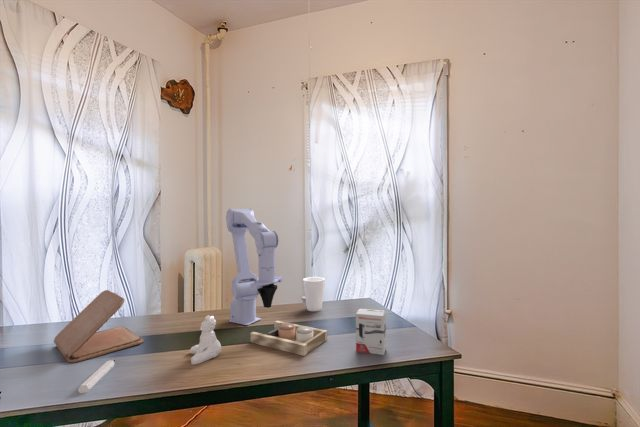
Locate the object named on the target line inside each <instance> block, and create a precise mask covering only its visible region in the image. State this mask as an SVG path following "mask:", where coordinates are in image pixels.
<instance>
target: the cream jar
mask: <svg viewBox="0 0 640 427" xmlns="http://www.w3.org/2000/svg"><path fill="white" fill-rule="evenodd" d="M302 326H303V327H299V328H297V330H296V335H295V341H297V342H301V343H305V342H306V341H308V340H310V339H311V338H313V329H312V328H313V327H312V328H311V326H308V325H307V326H306V325H302Z"/></svg>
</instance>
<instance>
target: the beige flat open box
mask: <svg viewBox="0 0 640 427" xmlns="http://www.w3.org/2000/svg"><path fill="white" fill-rule="evenodd" d="M283 323H288V322H286V321H282V320H276V321H274V323H273V324H274V327H273V328H274V329H276V328H278V327H279V325H281V324H283ZM293 324H294V326H295V336H296V330H297V328H299V327H303V326H304V325H302V324H296V323H293ZM310 327H311V326H310ZM311 328H312V329H313V338H311V339H310V340H308V341H306V342H305V343H301V342H297V341H296V340H295V341H292V340H288V339H283V338H279V337H275V336H270V335H267V334H266V333H260V332H256V331H251V332H250V344H251V343H252V344H255V345H256V344H257V345H260V346H262V347H263V346H264V347H268V348H271V349H276V350H278V351H279V350H280V351H283V352H287V353H291V354H296V355H300V356H306V355H308V354H309V353H310V352H312V351H313V350H314V349H316V348H317V347H319V346H320V345H322V344H323V343H324V342H326V341H328V333H329V332H328V330H326V329H321V328H315V327H311Z"/></svg>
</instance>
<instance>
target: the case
mask: <svg viewBox="0 0 640 427" xmlns="http://www.w3.org/2000/svg"><path fill="white" fill-rule="evenodd" d="M124 303H125V298H124V297H122V296H121V295H119V294H118V293H116V292H112V291H110V290H108V289H106V290H103V291H101V292H100V293H99V294H98V295H96V297H95V298H94V299H92V300H91V302H89V303H88V305H87V306H85V308H84V309H82V310H81V311H80V312H79V313H78V314H77V315H76V316H75V317H74V318H73V319H72V320H71V321H70V322H68V324H67V325H65V327H63V328H62V329H61V331H60V332H58V333H57V334H56V335H55V337H54V339H53V343H54V344H55V345H56V348H57V349H58V350H59V352H60V353H61V355H62V356H63V357H64V358H65V360H66V361H67V363H69V364H74V363H78V362H82V361H87V360H89V359H92V358H96V357H101V356H103V355H107V354H110V353H114V352H117V351H120V350H124V349H128V348H131V347H134V346H138V345H141V344H142V343H143V342H144V339H143V338H142V337H140V336H139V335H137V334H136V333H134V332H133V331H131V330H130V329H129V328H127V327H125V326H118V327H117V326H116V327H112V328H109V329H105V330H100V328H102V327H103V326H104V325H105V324H106V323H108V320H110V318H112V317H113V316H114V315H115V314H116V313H117V311H119V309H121V308H122V306H123V305H124ZM99 330H100V331H99Z"/></svg>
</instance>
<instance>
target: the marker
mask: <svg viewBox="0 0 640 427" xmlns="http://www.w3.org/2000/svg"><path fill="white" fill-rule="evenodd" d="M115 362H116V359H115V360H114V359H113V360H112V359H111V360H107V361H106V362H105V363H103V364H102V365H101V366H100V367H99V368H98V369H97V370H96V371H95V372H93V373H92V374H91V375H90V376H89V377H88V378H87V379H86V380H85V381H83V382H82V384H80V385H79V388H78V389H77V391H78V393H79V394H85V393H88V392H90V391H91V389H93V388H94V386H96V384H97V383H98V382H100V381H101V380H102V379H103V378H104V376H106V375H107V373H109V372H110V371H111V370H112V369H113V368H114V366H115Z"/></svg>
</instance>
